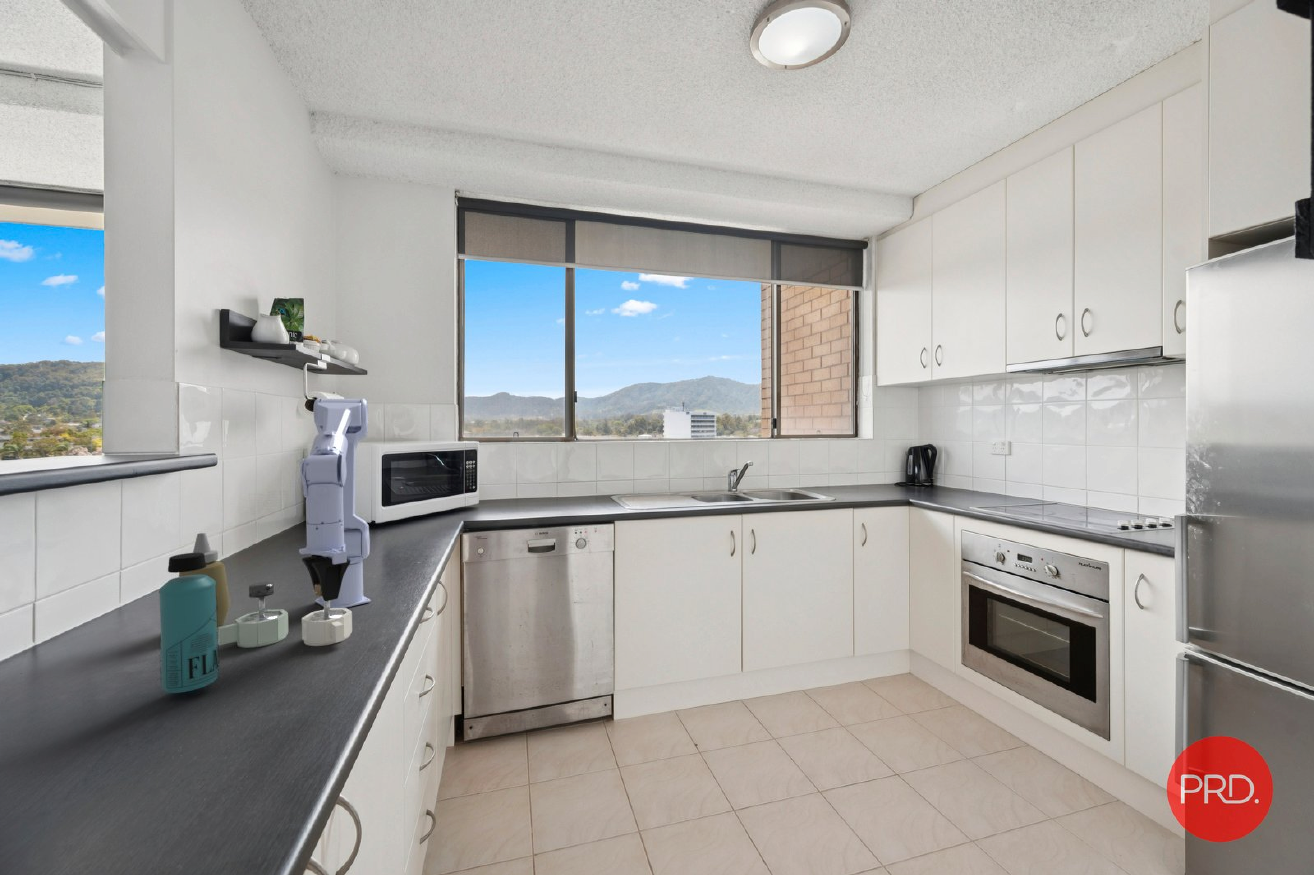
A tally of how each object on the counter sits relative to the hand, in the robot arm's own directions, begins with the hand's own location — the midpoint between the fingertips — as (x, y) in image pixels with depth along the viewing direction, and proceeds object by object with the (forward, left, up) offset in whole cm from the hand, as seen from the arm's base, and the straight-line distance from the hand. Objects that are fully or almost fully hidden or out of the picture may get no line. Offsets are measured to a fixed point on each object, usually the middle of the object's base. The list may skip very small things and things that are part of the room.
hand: (326, 597), depth 99 cm
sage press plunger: (-8, -8, -4) cm, 12 cm away
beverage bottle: (+8, -20, -8) cm, 23 cm away
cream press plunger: (0, 0, -4) cm, 4 cm away
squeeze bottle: (-23, -14, -8) cm, 28 cm away
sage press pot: (-8, -9, -7) cm, 14 cm away
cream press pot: (+1, 0, -7) cm, 8 cm away
